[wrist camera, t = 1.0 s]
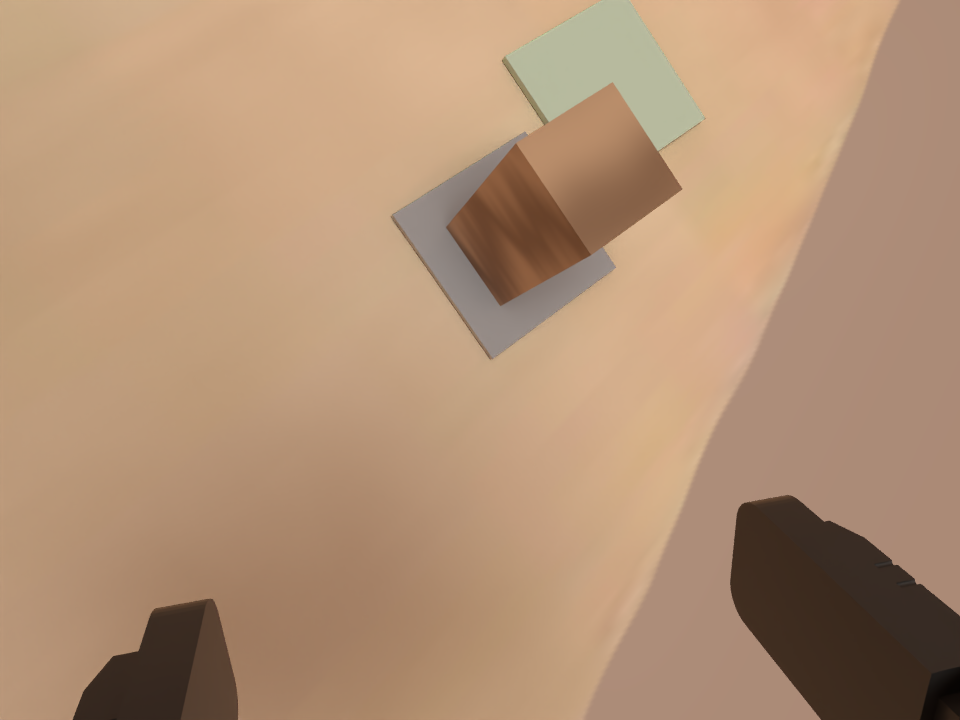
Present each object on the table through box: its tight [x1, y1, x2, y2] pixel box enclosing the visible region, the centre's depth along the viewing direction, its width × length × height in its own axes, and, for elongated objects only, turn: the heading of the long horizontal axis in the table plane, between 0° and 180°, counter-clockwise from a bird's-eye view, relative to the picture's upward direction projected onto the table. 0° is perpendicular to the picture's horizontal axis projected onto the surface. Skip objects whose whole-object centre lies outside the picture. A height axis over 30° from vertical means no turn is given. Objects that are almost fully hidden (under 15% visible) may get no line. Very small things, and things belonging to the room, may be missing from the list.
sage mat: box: [503, 0, 705, 151], centre depth 40 cm, size 9×9×1 cm
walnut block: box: [446, 82, 682, 306], centre depth 32 cm, size 5×5×11 cm
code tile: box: [392, 132, 616, 359], centre depth 37 cm, size 9×9×1 cm
